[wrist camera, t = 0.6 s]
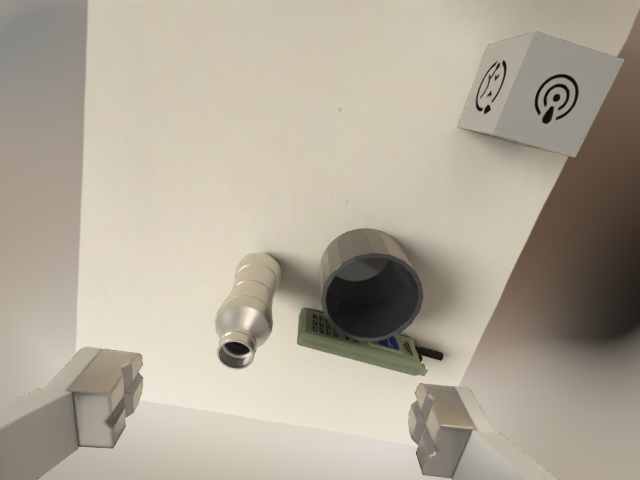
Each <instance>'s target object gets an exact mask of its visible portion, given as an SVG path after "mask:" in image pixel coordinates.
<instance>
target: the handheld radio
mask: <svg viewBox="0 0 640 480" xmlns="http://www.w3.org/2000/svg"><path fill="white" fill-rule="evenodd" d="M416 343H417V342H416V341H414V340H412V339H411V338H408V337H405V336H401V335H398V334H396V335H394V336H392V337H390V338H387V339H384V340H378V341H372V342H369V341H358V340H354V339H351V338H349V337H346V336H343V335H342V334H340V333H339V332H338V331H337V330H335V329H334V328H333V327H332V326H331V325H330V323H329V322H328V320H327V319H326V317H325V316H324V314H323V313H319V312H316V311H312V310H309V309H305V308H302V309H301V312H300V315H299V325H298V339H297V344H298V345H300V346H304V347H308V348H312V349H316V350H319V351H323V352H327V353H331V354H334V355H338V356H342V357H346V358H350V359H353V360H357V361H361V362H365V363H369V364H372V365H376V366H380V367H384V368H387V369H391V370H395V371H399V372H403V373H406V374H410V375H414V376H415V375H422V376H425V374H426V373H427V371H428V370H426V369H425V365H424V364H421V361H422V356H421V355H423V356H426V357H430V358H433V359H437V360H440V361H441V360H442V359H443V353H441V352H437V351H434V350H430V349H426V348H423V347H417V346H416ZM419 354H420V355H419Z"/></svg>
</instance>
